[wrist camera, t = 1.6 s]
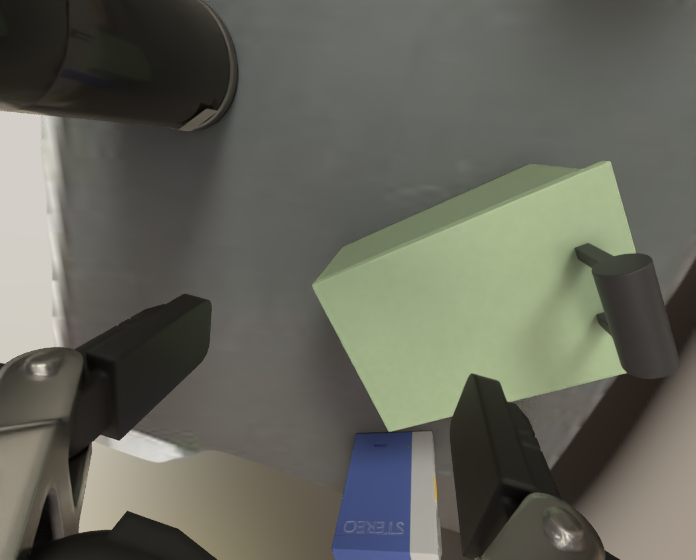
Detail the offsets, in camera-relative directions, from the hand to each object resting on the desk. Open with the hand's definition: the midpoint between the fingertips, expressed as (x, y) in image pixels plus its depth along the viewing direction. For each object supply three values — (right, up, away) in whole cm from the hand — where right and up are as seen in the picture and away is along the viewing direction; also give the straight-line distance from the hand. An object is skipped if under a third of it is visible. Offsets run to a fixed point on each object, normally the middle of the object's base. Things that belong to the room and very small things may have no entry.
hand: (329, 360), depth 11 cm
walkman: (+5, -14, +26) cm, 30 cm away
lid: (+8, 0, +10) cm, 13 cm away
